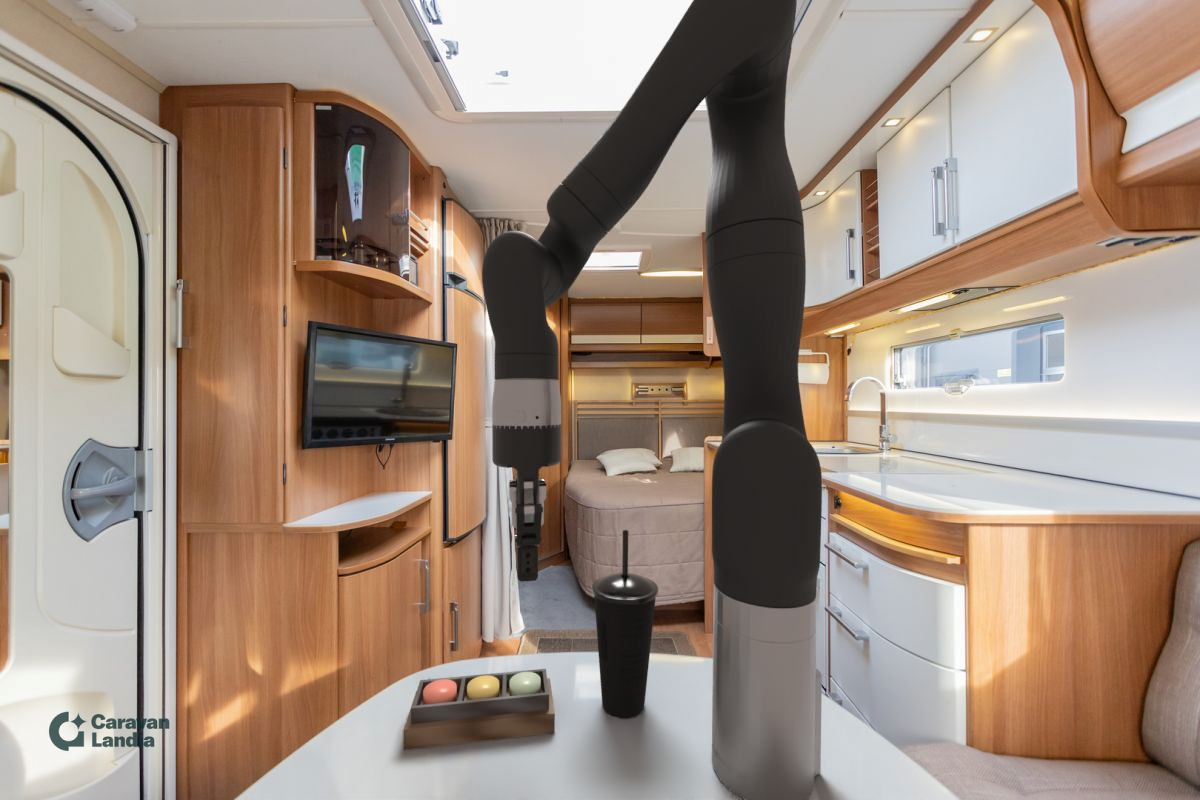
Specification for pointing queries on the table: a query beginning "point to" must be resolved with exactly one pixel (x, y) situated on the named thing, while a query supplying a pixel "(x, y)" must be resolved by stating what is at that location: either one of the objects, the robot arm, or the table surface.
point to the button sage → (525, 684)
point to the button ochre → (483, 688)
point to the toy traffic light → (479, 714)
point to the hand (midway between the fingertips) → (527, 578)
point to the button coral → (440, 692)
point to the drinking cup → (624, 637)
